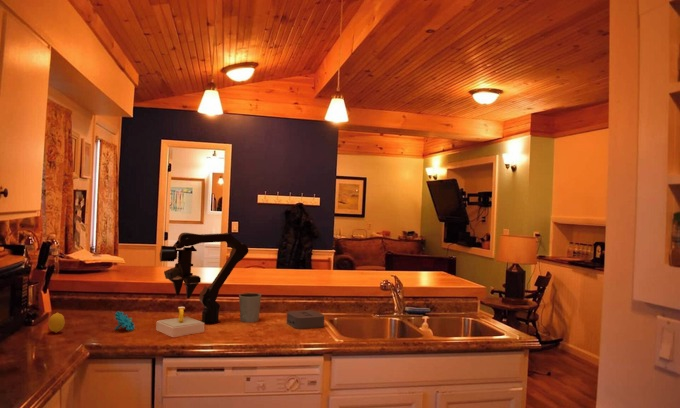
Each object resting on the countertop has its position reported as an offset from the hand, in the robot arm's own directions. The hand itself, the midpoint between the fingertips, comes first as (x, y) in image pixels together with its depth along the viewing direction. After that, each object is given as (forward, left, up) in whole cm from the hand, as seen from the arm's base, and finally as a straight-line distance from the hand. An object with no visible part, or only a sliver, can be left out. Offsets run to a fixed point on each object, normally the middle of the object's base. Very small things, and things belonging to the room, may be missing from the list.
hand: (182, 296), depth 210 cm
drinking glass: (-28, +11, -12) cm, 32 cm away
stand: (+6, +10, -12) cm, 17 cm away
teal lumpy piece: (+23, -5, -12) cm, 26 cm away
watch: (+6, +10, -8) cm, 14 cm away
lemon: (+45, -15, -12) cm, 49 cm away
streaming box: (-44, +32, -12) cm, 56 cm away
